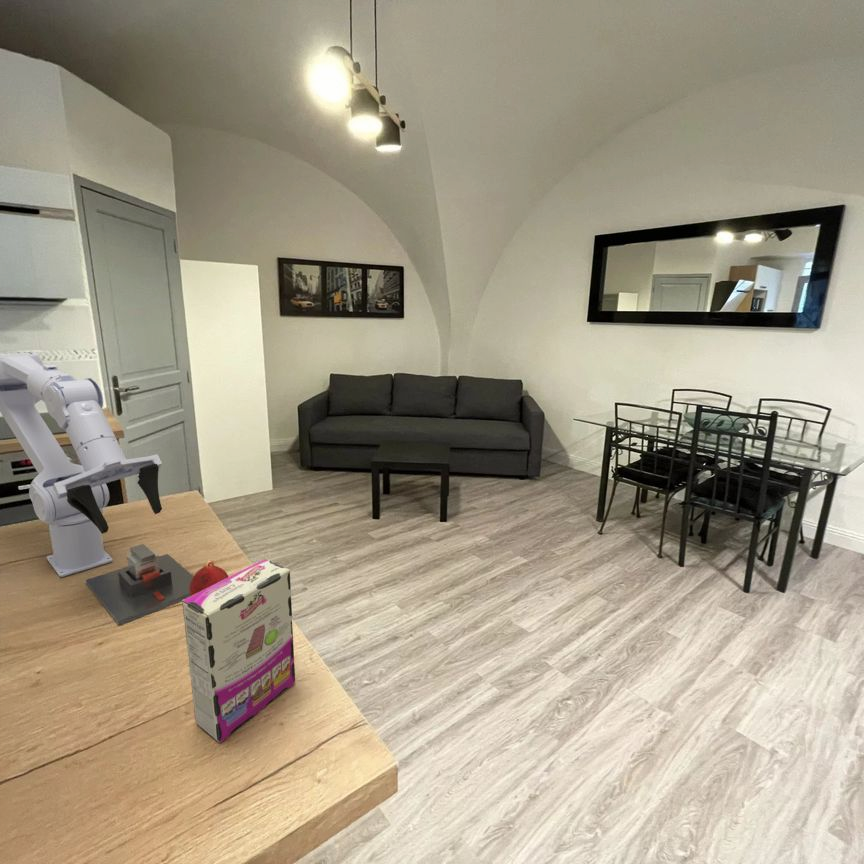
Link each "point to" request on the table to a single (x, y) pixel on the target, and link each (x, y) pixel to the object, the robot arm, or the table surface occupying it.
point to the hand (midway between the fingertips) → (133, 520)
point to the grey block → (142, 561)
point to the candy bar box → (239, 646)
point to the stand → (141, 590)
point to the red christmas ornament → (206, 577)
